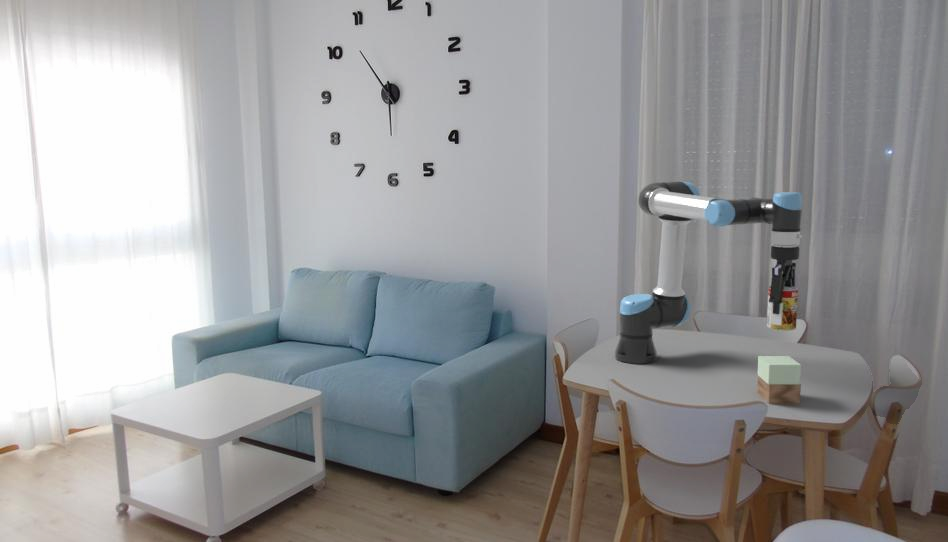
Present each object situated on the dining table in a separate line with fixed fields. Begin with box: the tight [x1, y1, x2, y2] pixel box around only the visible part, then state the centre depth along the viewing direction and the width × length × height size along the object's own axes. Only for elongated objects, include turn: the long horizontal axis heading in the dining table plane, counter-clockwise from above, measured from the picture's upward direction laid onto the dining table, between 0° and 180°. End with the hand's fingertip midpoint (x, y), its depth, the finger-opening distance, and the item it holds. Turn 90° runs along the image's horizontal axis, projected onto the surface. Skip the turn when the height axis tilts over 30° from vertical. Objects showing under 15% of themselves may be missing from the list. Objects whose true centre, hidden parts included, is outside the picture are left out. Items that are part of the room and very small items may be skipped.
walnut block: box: [756, 375, 802, 405], centre depth 194 cm, size 9×9×6 cm
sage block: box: [757, 355, 802, 384], centre depth 193 cm, size 9×9×6 cm
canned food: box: [766, 285, 799, 331], centre depth 190 cm, size 8×8×12 cm
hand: (781, 321), depth 191 cm, fingers closed on canned food, 8 cm apart
